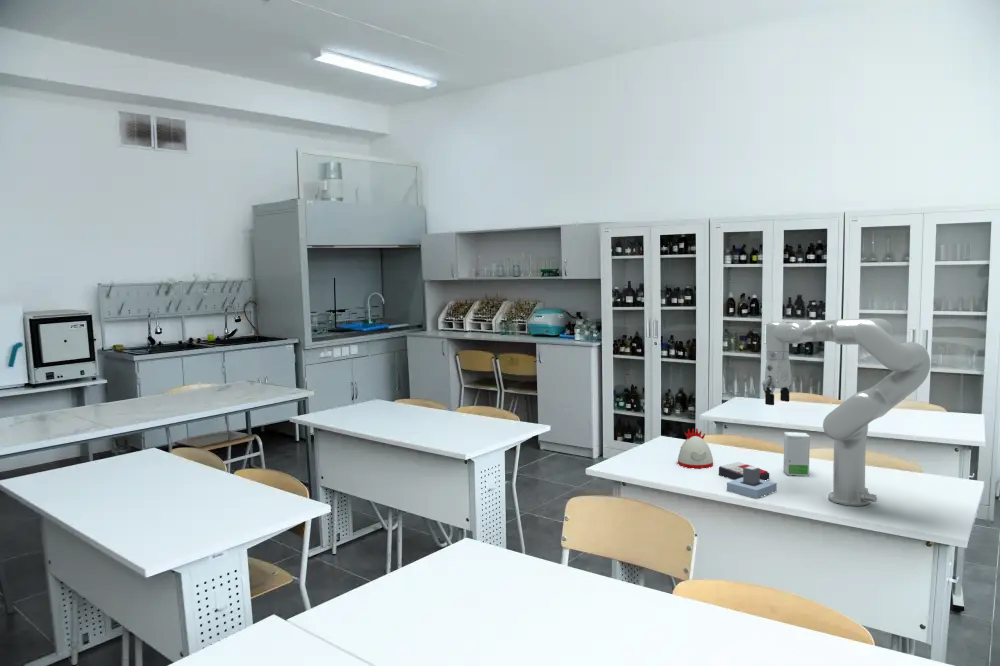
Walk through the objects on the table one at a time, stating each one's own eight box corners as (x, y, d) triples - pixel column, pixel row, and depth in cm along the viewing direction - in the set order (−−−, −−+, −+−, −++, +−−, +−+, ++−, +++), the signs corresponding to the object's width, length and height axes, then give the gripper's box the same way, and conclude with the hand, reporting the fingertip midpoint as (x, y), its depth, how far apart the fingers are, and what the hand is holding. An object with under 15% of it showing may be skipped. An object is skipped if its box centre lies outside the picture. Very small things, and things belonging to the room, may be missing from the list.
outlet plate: (776, 491, 242) (776, 483, 241) (756, 498, 234) (756, 490, 234) (746, 483, 251) (746, 475, 251) (726, 490, 244) (726, 482, 244)
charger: (759, 490, 242) (759, 467, 242) (753, 492, 240) (753, 469, 239) (749, 487, 246) (749, 465, 245) (743, 490, 243) (743, 467, 242)
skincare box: (786, 475, 259) (786, 435, 258) (782, 471, 266) (782, 431, 265) (810, 476, 258) (810, 435, 257) (805, 471, 264) (805, 431, 263)
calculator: (749, 475, 250) (718, 464, 263) (749, 487, 250) (717, 475, 263) (770, 471, 255) (738, 460, 268) (769, 482, 256) (738, 470, 269)
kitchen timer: (674, 460, 286) (674, 425, 285) (707, 459, 286) (707, 424, 285) (682, 469, 272) (681, 432, 271) (717, 468, 272) (716, 431, 271)
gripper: (773, 359, 237) (773, 407, 238) (800, 354, 247) (800, 401, 249) (754, 357, 243) (754, 404, 244) (781, 353, 253) (781, 398, 255)
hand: (777, 402), depth 246 cm, fingers open, 9 cm apart
